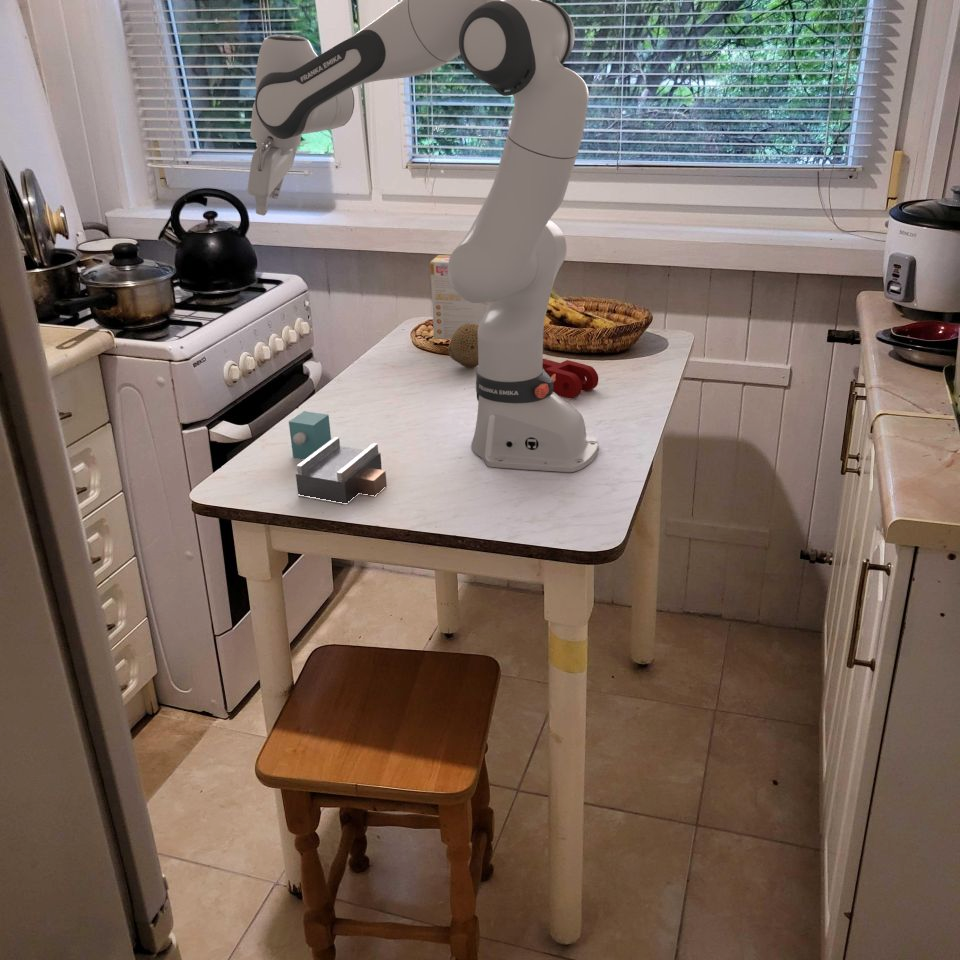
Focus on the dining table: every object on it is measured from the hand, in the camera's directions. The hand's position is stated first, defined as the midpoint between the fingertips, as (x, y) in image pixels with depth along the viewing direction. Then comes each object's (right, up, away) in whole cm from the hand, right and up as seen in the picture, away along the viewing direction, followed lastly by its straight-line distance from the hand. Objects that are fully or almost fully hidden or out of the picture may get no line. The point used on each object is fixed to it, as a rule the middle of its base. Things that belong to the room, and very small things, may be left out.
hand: (267, 205), depth 180 cm
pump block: (+10, -46, -7) cm, 48 cm away
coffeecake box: (+37, -19, +48) cm, 63 cm away
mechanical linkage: (+55, -32, +20) cm, 67 cm away
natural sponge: (+37, -27, +31) cm, 55 cm away
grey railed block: (+17, -52, -19) cm, 58 cm away
